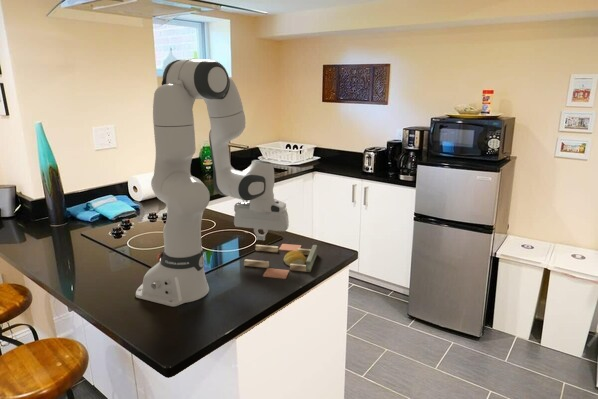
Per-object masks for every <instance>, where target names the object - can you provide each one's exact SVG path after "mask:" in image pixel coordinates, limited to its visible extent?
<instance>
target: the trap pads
mask: <svg viewBox="0 0 598 399" xmlns="http://www.w3.org/2000/svg"><path fill="white" fill-rule="evenodd" d="M298 248H301V249H302V245H301V244H291V243H290V244H288V243H282V244H281V245H280V247H278V251H284V252H290V251H298ZM289 273H290V269H280V268H273V267H272V268H271V267H269V268H266V270H265V271H264V273H263V275H262V277H263V278H272V279H273V278H274V279H281V280H282V279H283V280H286V279H287V276H288V275H289Z"/></svg>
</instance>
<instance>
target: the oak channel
mask: <svg viewBox="0 0 598 399" xmlns="http://www.w3.org/2000/svg"><path fill="white" fill-rule="evenodd" d="M255 251H258V252H259V251H260V252H267V253H268V252H271V253H278V252H279V246H276V245H267V244H266V245H264V244H255ZM298 251H300V252H301V253H303V254H304V256H307V257H306V259H307V260H306V263H305V264H304V265H301V264H290V266H289V271H297V272H306V273H307V272H308V273H311V271H312V269H313V266H314V263H315V260H316V258H317V256H318V245H317V244H313V245H312V246H311V249H310V248H302V247H301V248H298ZM243 262H244V263H243V265H244V267H245V266H246V267H256V268H266V269H267V268H270V261H267V260H257V259H247V258H246V259H245V258H244V261H243Z"/></svg>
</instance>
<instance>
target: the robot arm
mask: <svg viewBox="0 0 598 399" xmlns="http://www.w3.org/2000/svg"><path fill="white" fill-rule="evenodd" d="M196 100H203V102H204V103H205V104H206V109H207V110H206V111H207V114H208V118H209V123H210V131H209V132H208V133H209V134H208V141H209V148H210V156H211V163H212V171H213V174H212V176H213V177H212V185H213V186H212V187H213V189H214V191H215V192H216V193H217V194H218V195H221V196H226V197H230V198H234V199H236V200H237V199H238V200H241V201H238V202H237V203H235V204H234V205H233V207H234V208H233V209H234V210H233V212H234V219H233V225H234V226H235V227H236V228H248V229H253V233H254V234H255V236H256V241H265V240H266V235H267V233H268V232H269V231H276V232H286V231H287V230H288V228H289V223H290V221H289V214H288V211H287V210H286V208H287V204H286V203H285V202H284V201H281V200H278V199H276V198H275V194H274V187H275V168H274V165H273V164H272V162H270V161H266V160H260V159H253V160H251V164H250V165H249V166H247V168H245V169H243V170H238V169H235V168H234V167H233V166H232V165H231V160H230V159H231V158H230V152H229V143H230V142H231V141H233V140H235V139H237V138H238V137H240V136H241V135H242V134H243V132H244V131H245V128H246V123H247V122H246V115H245V114H246V113H245V111H244V106H243V102H242V99H241V96H240V93H239V90H238V87H237V85H236V83H235V81H234V80H233V79H232V78H231V77H230V76H229V73H228V72H227V69H226V68H225V66H224V65H223V64H221V63H220V62H218V61H216V60H212V59H200V58H199V59H198V58H186V59H185V58H184V59H176V60H173V61H171V62H170V63H168V64H167V65H166V66H165V68H164V70H163V74H162V81H161V85H160V86H158V87H156V89H155V91H154V93H153V101H152V103H153V104H152V119H153V120H152V122H153V133H154V134H153V135H154V147H155V161H154V169H153V170H154V172H153V176H152V177H151V184H150V185H151V186H150V187H151V188H152V189H151V190H152V191H153V193H154V195H155V196H156V198H157V199H158V200H159V201H160V202H163V203H164V204H165V206H166V210H167V213H166V220H165V221H166V222H165V224H164V226H163V228H162V233H163V236H162V237H163V246H164V250H161V251H160V253H159V254H158V255H157V260H159V259H160V261H159V262H157V263H156V264H154V265H153V266H152V267H151V268H149V269H148V270H147V272H146V273H145V275H144V276H143V280H142V284H140V286H139V287H137V289H136V291H135V297H136V298H138V299H140V300H141V299H142V300H145V301H150V302H153V303H157V304H161V305H165V306H168V307H178V306H180V305H182V304H185V303H191V302H195V301H198V300H200V299H202V298H204V297H205V296H207V294H208V293H209V292H210V287H209V284H208V281H207V277H206V273H205V268H204V266H205V256H204V249H203V247H202V246H203V245H202V230H201V228H202V220H203V216H204V215H203V214H204V211H205V210H206V208H207V207H208V205H209V203H210V199H211V198H210V197H211V195H210V191H209V189H208V187H207V186H206V185H205V183H203V181H201V179H199V178H197V177H195V176H193V175H192V173H191V164H192V160H193V156H194V155H195V153H196V136H195V135H196V131H195V120H194V111H193V108H194V104H195V102H196ZM242 201H249V202H242ZM259 230H263V234H261V233H259Z"/></svg>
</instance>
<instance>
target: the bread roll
mask: <svg viewBox="0 0 598 399" xmlns="http://www.w3.org/2000/svg"><path fill="white" fill-rule="evenodd" d="M306 260H307V257H306V255H304V254H303V253H301V252H300V251H287V253H286V254H285V255H284V257H283V261H284V263H285V265H287V266H289V267H290V264H301V265H306Z"/></svg>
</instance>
